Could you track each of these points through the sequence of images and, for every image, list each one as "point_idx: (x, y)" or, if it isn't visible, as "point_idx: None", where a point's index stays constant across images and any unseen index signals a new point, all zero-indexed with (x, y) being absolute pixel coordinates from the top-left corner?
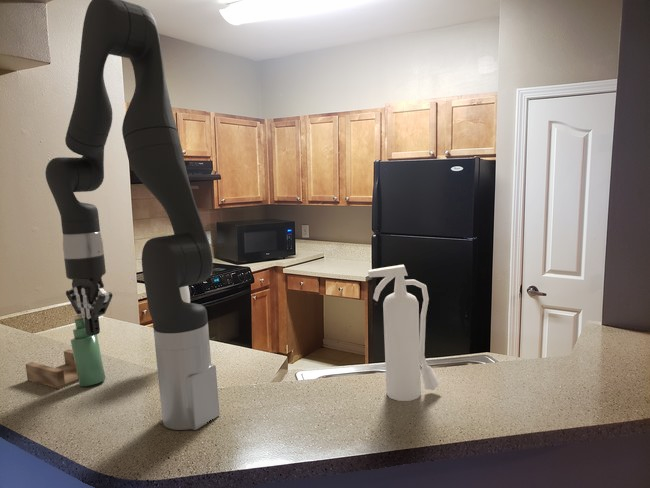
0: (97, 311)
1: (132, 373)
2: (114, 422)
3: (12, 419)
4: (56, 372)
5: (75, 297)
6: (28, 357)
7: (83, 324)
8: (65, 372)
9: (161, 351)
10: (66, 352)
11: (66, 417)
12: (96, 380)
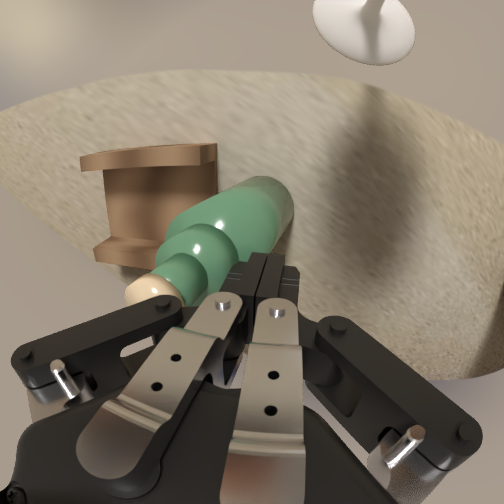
0: (360, 394)
1: (311, 118)
2: (444, 317)
3: None
4: None
5: (90, 384)
6: (26, 174)
7: (199, 292)
8: (148, 198)
9: None
10: (89, 170)
11: None
12: (290, 220)
